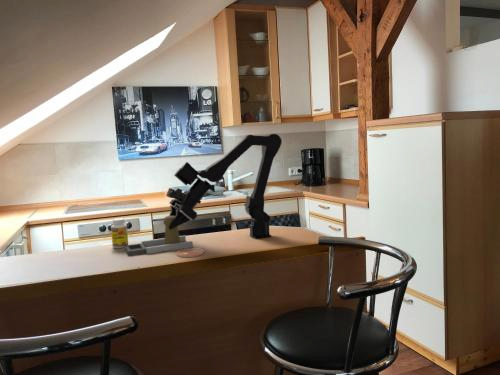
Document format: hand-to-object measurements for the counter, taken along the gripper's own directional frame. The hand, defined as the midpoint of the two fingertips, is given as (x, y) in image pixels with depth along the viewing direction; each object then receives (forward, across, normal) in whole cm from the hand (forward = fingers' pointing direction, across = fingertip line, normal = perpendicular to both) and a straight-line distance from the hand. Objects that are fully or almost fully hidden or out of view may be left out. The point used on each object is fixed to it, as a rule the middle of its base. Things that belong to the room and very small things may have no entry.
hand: (167, 227), depth 148 cm
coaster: (+2, +13, +8) cm, 15 cm away
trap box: (+13, 0, -3) cm, 14 cm away
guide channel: (+5, 0, +5) cm, 7 cm away
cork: (+4, 0, +6) cm, 7 cm away
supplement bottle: (+16, -10, -6) cm, 20 cm away
